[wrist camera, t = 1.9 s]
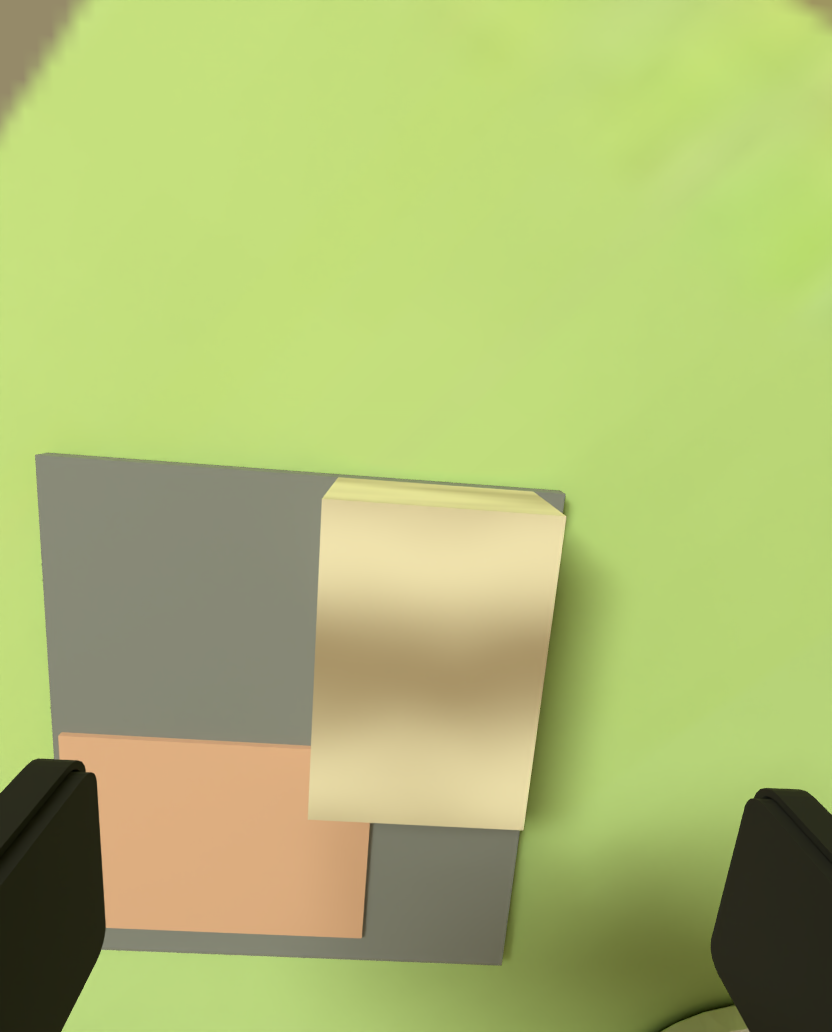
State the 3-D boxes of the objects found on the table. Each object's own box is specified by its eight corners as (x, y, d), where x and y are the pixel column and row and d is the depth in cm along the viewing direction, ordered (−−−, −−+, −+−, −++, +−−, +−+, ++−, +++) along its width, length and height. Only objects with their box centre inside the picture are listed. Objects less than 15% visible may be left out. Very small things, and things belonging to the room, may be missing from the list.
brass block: (501, 750, 19) (523, 830, 16) (325, 741, 19) (307, 819, 16) (533, 491, 17) (566, 516, 14) (338, 477, 17) (321, 498, 14)
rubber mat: (498, 950, 22) (502, 970, 21) (75, 932, 21) (62, 953, 20) (560, 490, 18) (567, 495, 17) (47, 453, 17) (30, 455, 17)
